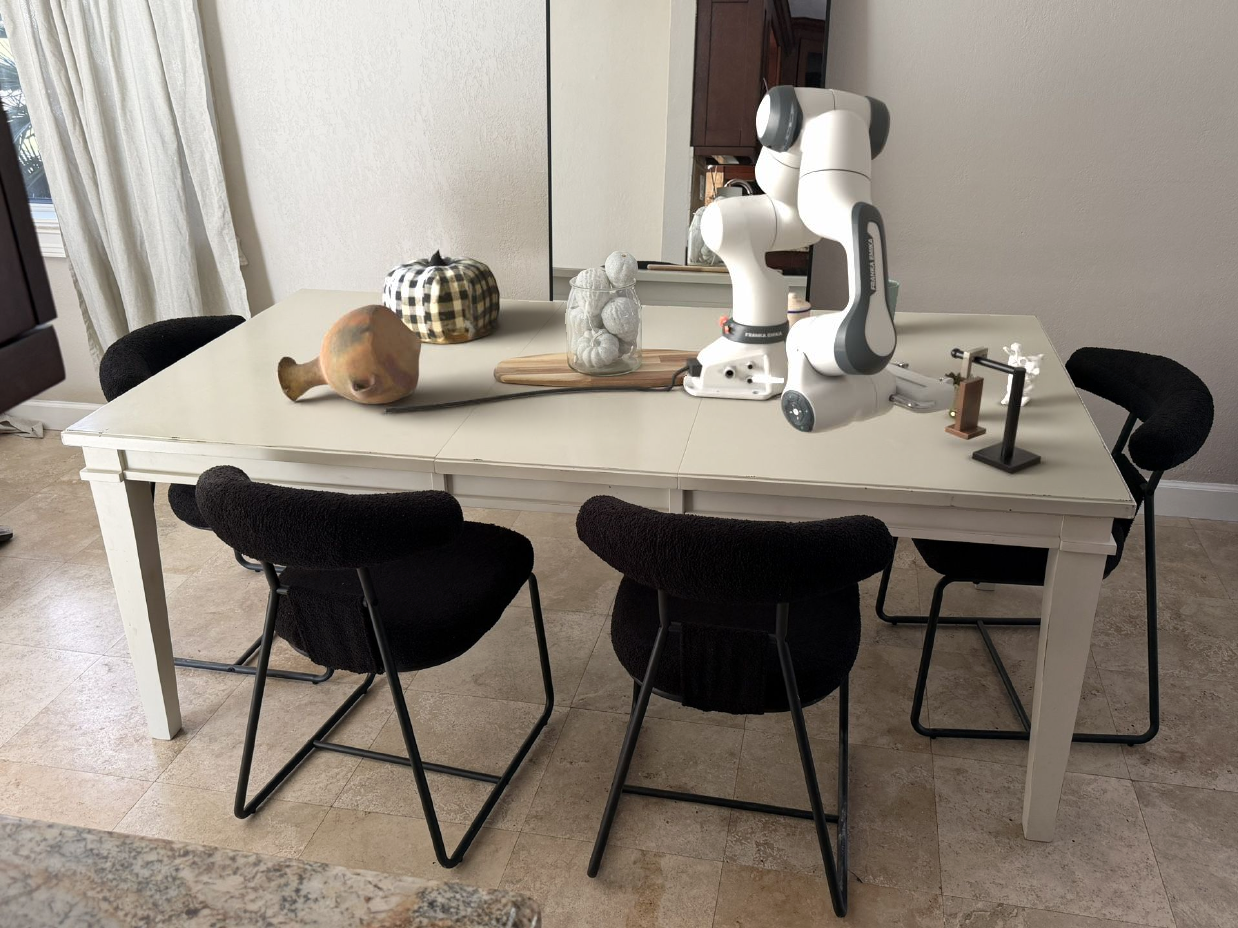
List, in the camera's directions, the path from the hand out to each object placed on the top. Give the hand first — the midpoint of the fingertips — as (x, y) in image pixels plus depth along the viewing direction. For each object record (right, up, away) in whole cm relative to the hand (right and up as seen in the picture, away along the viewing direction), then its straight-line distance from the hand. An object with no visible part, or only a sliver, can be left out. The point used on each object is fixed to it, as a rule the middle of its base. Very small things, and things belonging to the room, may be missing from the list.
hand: (927, 374), depth 169 cm
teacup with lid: (-13, +14, +70) cm, 73 cm away
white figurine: (+27, -3, +32) cm, 42 cm away
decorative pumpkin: (-96, +19, +84) cm, 129 cm away
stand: (+13, -13, +9) cm, 20 cm away
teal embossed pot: (+10, +17, +77) cm, 80 cm away
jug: (-106, -2, +38) cm, 112 cm away
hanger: (+10, -10, +11) cm, 18 cm away
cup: (+13, -6, +24) cm, 28 cm away
